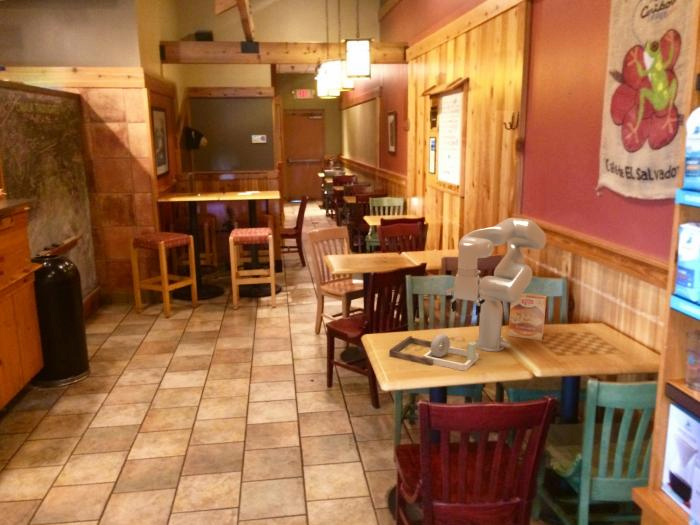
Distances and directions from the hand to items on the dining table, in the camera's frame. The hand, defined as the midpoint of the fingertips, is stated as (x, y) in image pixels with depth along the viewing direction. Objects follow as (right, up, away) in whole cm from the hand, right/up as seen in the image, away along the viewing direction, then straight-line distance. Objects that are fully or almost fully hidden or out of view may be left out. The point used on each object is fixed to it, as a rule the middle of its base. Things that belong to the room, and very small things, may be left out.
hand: (465, 312), depth 240 cm
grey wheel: (-10, -19, +6) cm, 22 cm away
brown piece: (-18, -18, +10) cm, 27 cm away
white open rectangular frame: (-6, -20, +3) cm, 21 cm away
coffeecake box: (+34, -14, +32) cm, 49 cm away
